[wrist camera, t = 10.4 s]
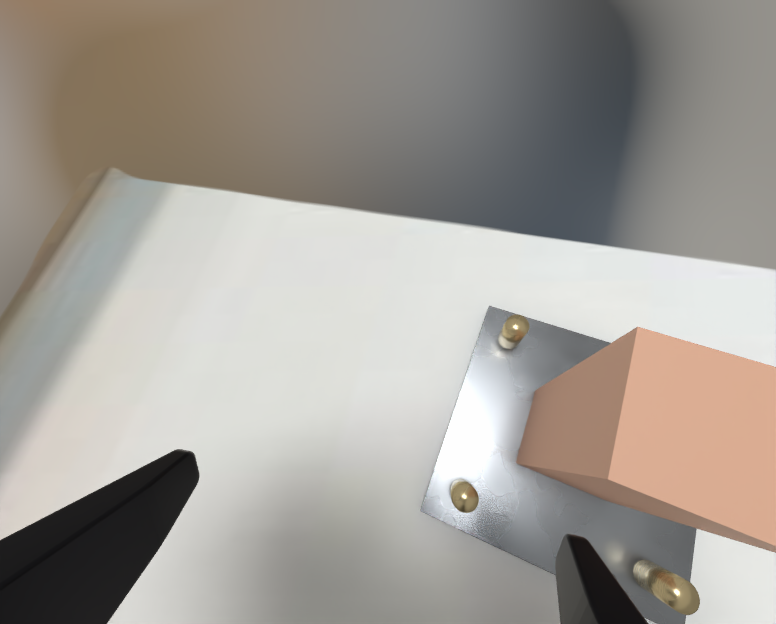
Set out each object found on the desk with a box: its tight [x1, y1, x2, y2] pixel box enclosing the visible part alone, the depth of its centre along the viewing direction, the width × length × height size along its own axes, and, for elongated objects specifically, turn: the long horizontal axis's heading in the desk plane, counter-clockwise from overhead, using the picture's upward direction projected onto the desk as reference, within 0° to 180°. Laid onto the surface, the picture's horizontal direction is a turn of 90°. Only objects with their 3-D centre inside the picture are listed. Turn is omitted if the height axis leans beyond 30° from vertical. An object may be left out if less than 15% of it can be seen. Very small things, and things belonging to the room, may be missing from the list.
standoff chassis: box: [421, 306, 700, 624], centre depth 18 cm, size 12×12×3 cm
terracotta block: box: [516, 327, 776, 552], centre depth 13 cm, size 4×4×11 cm
